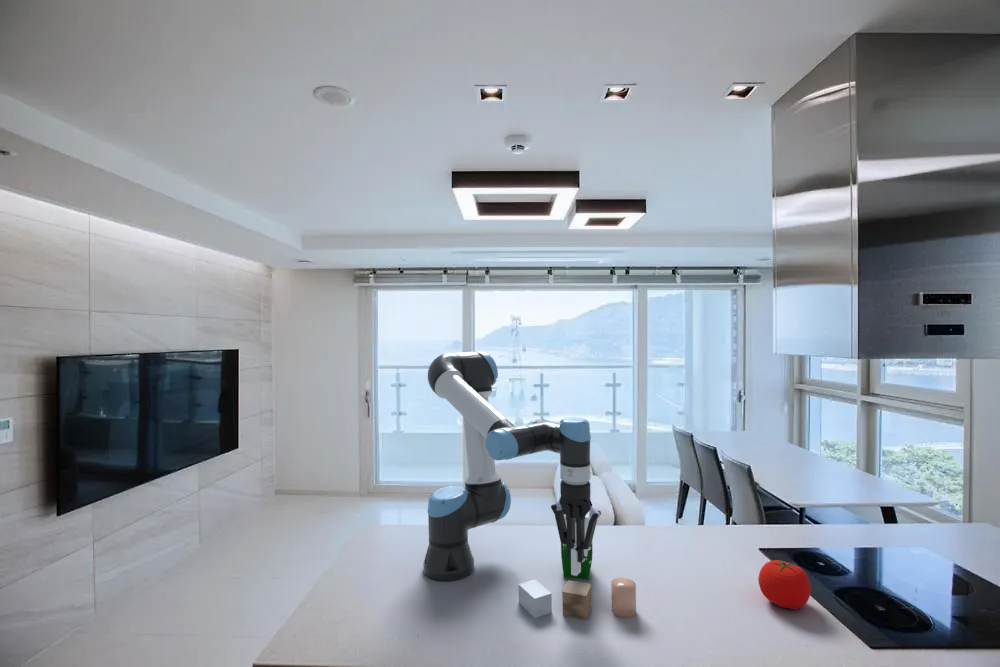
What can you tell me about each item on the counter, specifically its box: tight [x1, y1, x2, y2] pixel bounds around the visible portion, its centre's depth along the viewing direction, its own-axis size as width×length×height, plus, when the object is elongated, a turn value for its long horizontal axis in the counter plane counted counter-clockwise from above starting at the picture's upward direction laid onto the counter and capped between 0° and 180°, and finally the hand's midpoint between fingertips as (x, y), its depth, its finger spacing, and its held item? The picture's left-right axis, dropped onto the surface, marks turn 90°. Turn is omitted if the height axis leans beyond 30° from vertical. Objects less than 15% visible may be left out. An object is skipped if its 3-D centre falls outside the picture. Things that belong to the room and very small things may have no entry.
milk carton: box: [560, 508, 593, 581], centre depth 145 cm, size 9×9×20 cm
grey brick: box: [518, 579, 553, 619], centre depth 128 cm, size 8×5×5 cm, turn 28°
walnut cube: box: [561, 579, 593, 621], centre depth 126 cm, size 6×6×6 cm
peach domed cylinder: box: [610, 577, 637, 619], centre depth 126 cm, size 6×6×7 cm
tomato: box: [757, 559, 812, 610], centre depth 128 cm, size 11×12×10 cm
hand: (576, 572), depth 126 cm, fingers closed
